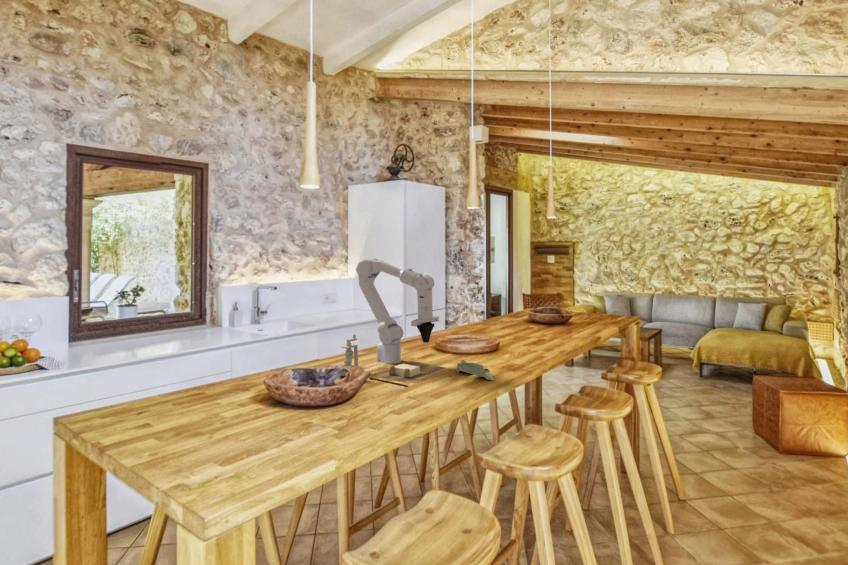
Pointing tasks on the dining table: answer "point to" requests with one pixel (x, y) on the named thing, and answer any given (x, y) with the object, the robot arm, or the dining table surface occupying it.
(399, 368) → the cream rectangular block
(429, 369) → the bench board
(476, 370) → the metal bracket
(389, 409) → the dining table surface
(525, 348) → the dining table surface
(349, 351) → the clamp
